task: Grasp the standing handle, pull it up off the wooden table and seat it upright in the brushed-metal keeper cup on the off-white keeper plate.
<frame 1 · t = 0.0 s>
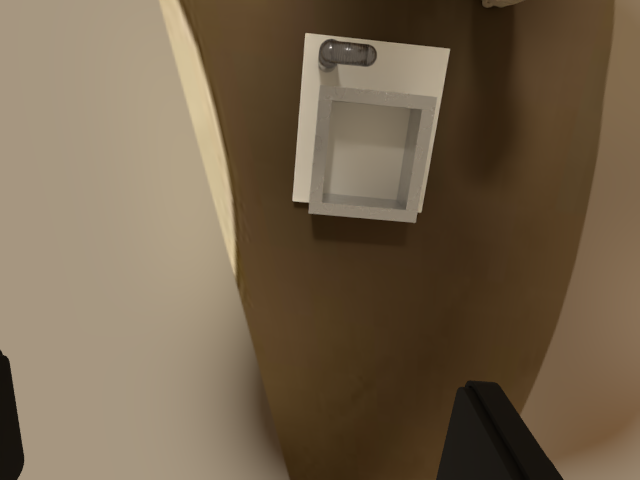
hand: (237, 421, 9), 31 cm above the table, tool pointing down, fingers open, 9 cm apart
keeper: (365, 128, 37), on the table
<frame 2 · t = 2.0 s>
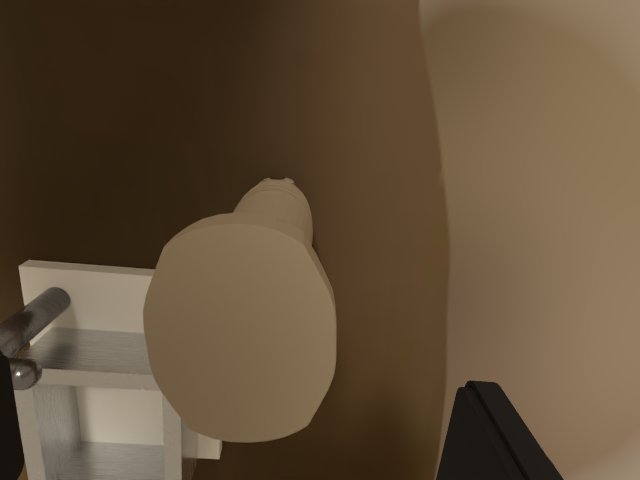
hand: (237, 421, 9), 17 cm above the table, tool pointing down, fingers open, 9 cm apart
handle: (279, 201, 25), on the table
keeper: (134, 362, 28), on the table
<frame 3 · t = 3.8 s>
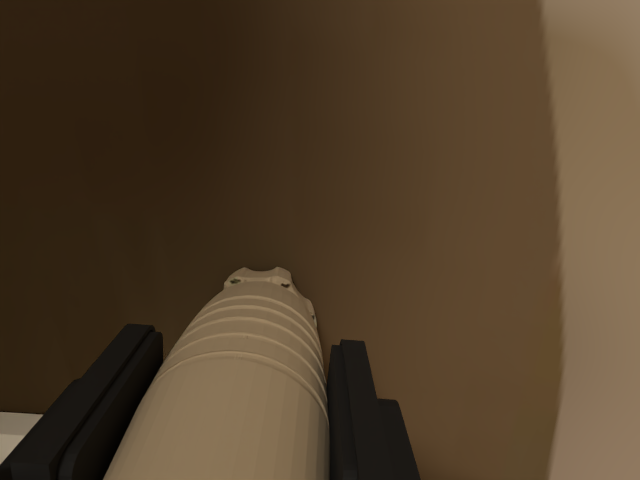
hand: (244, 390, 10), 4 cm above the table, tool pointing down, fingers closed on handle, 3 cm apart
handle: (265, 303, 14), on the table, touching gripper
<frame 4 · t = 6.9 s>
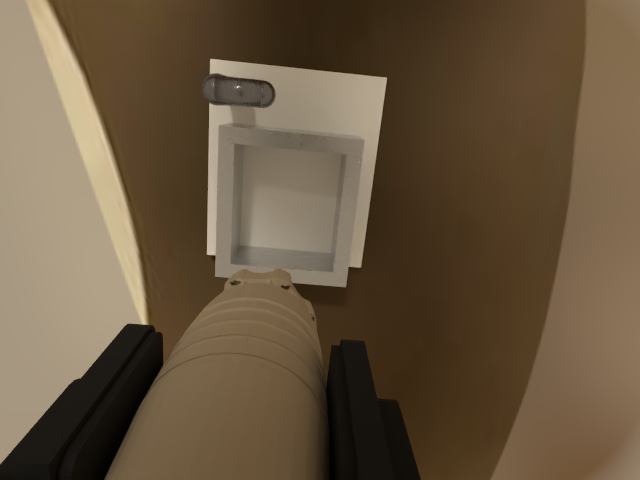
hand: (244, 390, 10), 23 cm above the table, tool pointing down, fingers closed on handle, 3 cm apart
handle: (265, 304, 14), point 19 cm above the table, touching gripper
keeper: (292, 169, 31), on the table
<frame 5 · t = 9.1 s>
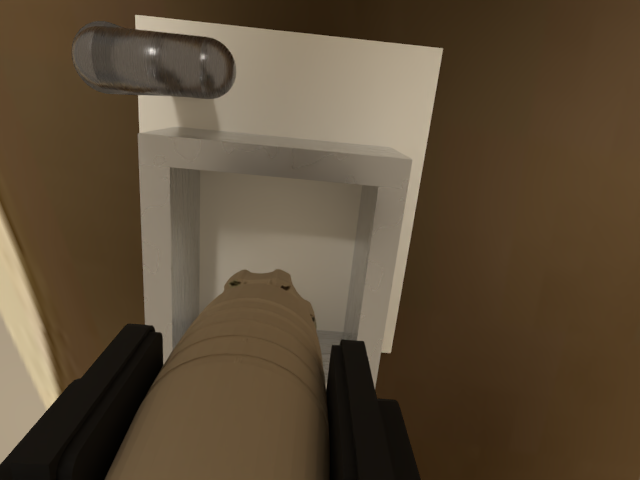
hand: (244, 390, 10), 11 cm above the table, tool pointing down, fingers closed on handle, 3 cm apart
handle: (265, 305, 14), point 6 cm above the table, touching gripper
keeper: (281, 201, 19), on the table
when the fingers open (7 cm above the table, at t = 10.3 s): handle drops 1 cm, resting on keeper.
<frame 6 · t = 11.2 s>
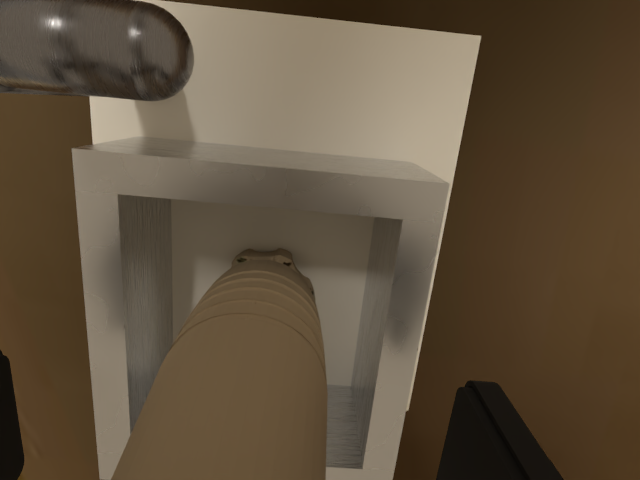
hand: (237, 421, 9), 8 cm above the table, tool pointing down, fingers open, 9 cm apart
handle: (268, 281, 15), point 1 cm above the table, touching keeper
keeper: (274, 227, 16), on the table
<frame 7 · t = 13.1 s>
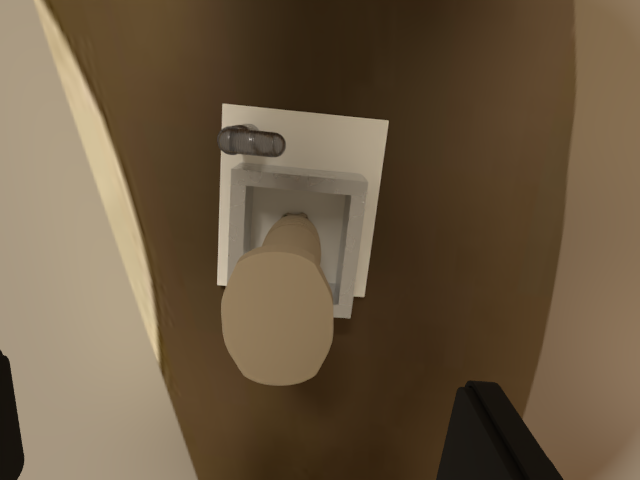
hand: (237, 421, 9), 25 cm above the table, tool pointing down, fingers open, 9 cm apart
handle: (295, 229, 33), point 1 cm above the table, touching keeper
keeper: (298, 204, 33), on the table
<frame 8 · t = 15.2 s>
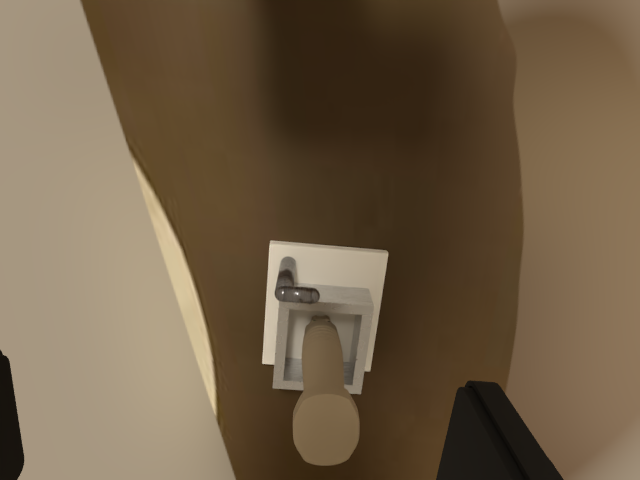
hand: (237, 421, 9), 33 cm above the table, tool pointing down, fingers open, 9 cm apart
handle: (320, 325, 45), point 1 cm above the table, touching keeper
keeper: (322, 306, 45), on the table
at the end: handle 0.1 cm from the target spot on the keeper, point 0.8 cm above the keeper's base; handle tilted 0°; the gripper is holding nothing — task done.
